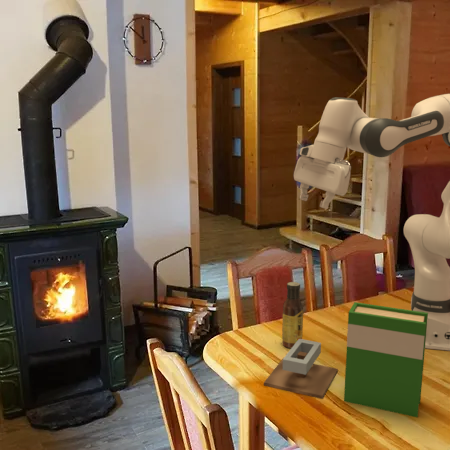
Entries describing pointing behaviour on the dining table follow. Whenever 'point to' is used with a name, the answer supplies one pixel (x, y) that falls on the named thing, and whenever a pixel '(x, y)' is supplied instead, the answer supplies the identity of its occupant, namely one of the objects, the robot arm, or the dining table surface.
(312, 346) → the grey rectangular frame
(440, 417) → the dining table surface
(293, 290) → the sauce bottle
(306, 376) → the post fixture
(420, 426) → the dining table surface
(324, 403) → the dining table surface
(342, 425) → the dining table surface
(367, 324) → the hardback book
